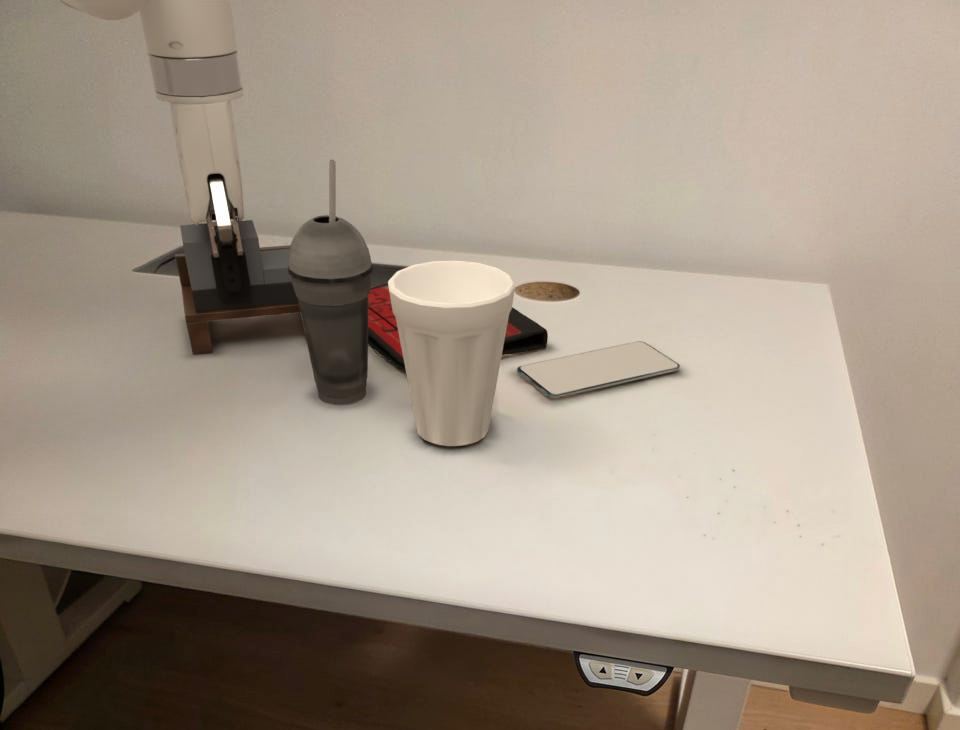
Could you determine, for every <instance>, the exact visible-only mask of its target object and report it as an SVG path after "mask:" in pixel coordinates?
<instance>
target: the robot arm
mask: <svg viewBox="0 0 960 730" xmlns="http://www.w3.org/2000/svg"><path fill="white" fill-rule="evenodd" d="M55 1H56V2H58V3H60V4H62V5H64V6H67V7H69V8H71V9H73V10H76V11H79V12H82V13H84V14H87V15H90V16H92V17H94V18H97V19H100V20H106V21H121V20H124V19H128V18H130V17H132V16H134V15H135V14H137V13H138V12H139V15H140V20H141V25H142V30H143V35H144V40H145V44H146V45H145V46H146V49H147V55H148V60H149V65H150V70H151V76H152V81H153V85H154V91H155V96H156V99H158V100H160V101H161V102H165V103H169V105H170V114H171V121H172V127H173V134H174V140H175V146H176V152H177V155H178V162H179V167H180V172H181V176H182V181H183V182H182V183H183V187H184V193H185V198H186V203H187V208H188V212H189V217H190V221H191V222H192V223H191V224H195V225H197V226H198V225H199V224H200V223H201V222H206V223H207V226H208V228H209V234H210V239H211V245H212V250H213V255H211V260H212V266H213V271H214V277H215V282H216V288H217V293H218V297H219V298H220V299H228V298H239V297H248V296H250V295H251V287H250V281H249V274H248V268H247V261H246V255H245V252H244V253H243V250H242V244H241V238H240V233H239V227H238V222H241V221H244V218H245V210H244V209H245V207H244V195H243V186H242V173H241V166H240V157H239V156H240V155H239V149H238V141H237V134H236V127H235V120H234V112H233V107H232V101H233V100H237V99H239V98H242V97H243V96H244V87H243V80H242V74H241V67H240V60H239V53H238V46H237V38H236V32H235V31H236V30H235V24H234V17H233V9H232V1H231V0H55ZM199 222H200V223H199ZM232 227H233V231H232ZM214 228H218V232H216V235H215V229H214ZM217 245H218V246H217Z"/></svg>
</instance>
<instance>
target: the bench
mask: <svg viewBox="0 0 960 730" xmlns="http://www.w3.org/2000/svg"><path fill="white" fill-rule="evenodd" d="M290 245H291V244H287V245H275V246H261V247H260V246H259V247H260V251H265V250H278V249H290ZM174 258H175V262H176V268H177V273H178V277H179V283H180V287H181V296H182V303H183V312H184V319H185V323H186V328H187V334H188V338H189V343H190V348H191V352H192V355H202V354H203V355H204V354H211V353H212V354H213V353H214V349H213V344H212V337H211V332H210V326H209V322H215V321H224V320H225V321H226V320H236V319H246V318H256V317H257V318H258V317H267V316H277V315H288V314H298V313H300V314H301V312H300V307H299V303H291V304H280V305H269V306H258V307H247V308H236V309H226V310H215V311H204V312H196V309H195V304H194V299H193V294H192V289H191V284H190V278H189V273H188V268H187V263H186V258H185V253H175V254H174Z"/></svg>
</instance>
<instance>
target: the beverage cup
mask: <svg viewBox="0 0 960 730" xmlns="http://www.w3.org/2000/svg"><path fill="white" fill-rule="evenodd" d="M336 162H337V161H336V160H335V159H329V160H328V178H329V179H328V184H329V185H328V214H326V215H318V216H315V217H312V218H310V219H309V220H307V221H306V222H304V223H303V224H302V225H300V227H299V228H298V230H297V231H296V233H295V234H294V236H293V237H292V240H291V242H290V244H289V245H290V249H289V265H288V273H289V275H291V281H292V284H293V287H294V291H295V294H296V297H297V298H298V302H299V307H300V316H301V320H302V324H303V325H302V326H303V331H304V335H305V341H306V346H307V350H308V356H309V360H310V364H311V371H312V375H313V379H314V383H315V386H316V390H317V395H318V399H320V401H322V402H323V403H326V404H329V405H334V406H335V405H337V406H343V405H344V406H345V405H351V404H355V403H358V402H360V401H362V400H363V399H364V398H366V396H367V394H368V393H367V386H368V385H367V384H368V377H369V376H368V375H369V374H368V373H369V366H368V365H369V345H368V315H369V292H370V288H372V279H373V276H372V275H373V274H372V272H373V271H374V265H373V263H372V258H371V252H370V250H369V247H368V244H367V242H366V241H365V238H364V237H363V235H362V234H361V232H360V231H359V230H358V228H356V226H355V225H354V224H352V223H351V222H349V221H347V220H346V219H344V218H342V217H339V216H337V215H336V214H337V213H336V211H337V209H336V207H337V206H336V205H337V203H336V202H337V201H336V200H337V198H336V197H337V195H336V194H337V193H336V191H337V190H336V189H337V187H336V185H337V183H336V175H337V174H336V173H337V171H336V170H337V169H336V167H337V163H336Z"/></svg>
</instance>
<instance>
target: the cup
mask: <svg viewBox="0 0 960 730" xmlns="http://www.w3.org/2000/svg"><path fill="white" fill-rule="evenodd" d="M387 283H388V286H389V292H390V299H391V305H392V310H393V313H394V315H395V317H396V322H397V327H398V332H399V337H400V343H401V348H402V353H403V358H404V364H405V369H406V371H405V374H406V378H407V385H408V389H409V394H410V399H411V405H412V410H413V415H414V420H415V425H416V431H417V434H418V436H420V437H421V438H422V439H423V440H424V441H427V442H429V443H432V444H434V445H438V446H444V447H458V446H459V447H461V446H467V445H471V444H474V443H477V442H479V441H480V440H482V439H484V438H485V437H486V436H487V433H488V431H489V429H490V423H491V418H492V413H493V406H494V400H495V394H496V390H497V384H498V379H499V373H500V369H501V368H500V367H501V363H502V357H503V355H502V351H503V345H504V340H505V334H506V328H507V323H508V317H509V313H510V311H511V309H512V307H513V304H514V298H515V297H514V296H515V291H516V289H515V288H516V285H515V283H514V281H513V278H512V277H511V275H510V274H509V273H507V272H505V271H503V270H501V269H500V268H498V267H495V266H491V265H487V264H484V263H480V262H475V261H474V262H473V261H465V260H433V261H428V262H421V263H417V264H411V265H409V266H407V267H404V268H402V269H400V270H397V271H396V272H395V273H394V274H393V275H392V277H390V278H389V280H388V281H387Z"/></svg>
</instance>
